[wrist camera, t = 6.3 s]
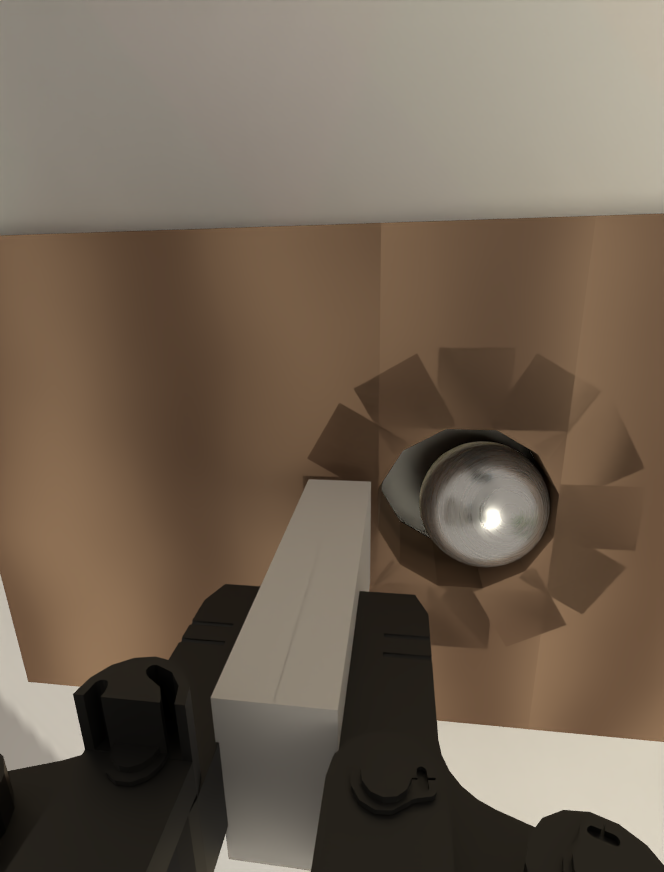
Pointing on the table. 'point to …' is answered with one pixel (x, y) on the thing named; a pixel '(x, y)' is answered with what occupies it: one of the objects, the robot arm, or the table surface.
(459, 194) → the table surface
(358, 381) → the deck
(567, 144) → the table surface
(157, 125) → the table surface
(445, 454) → the ball
